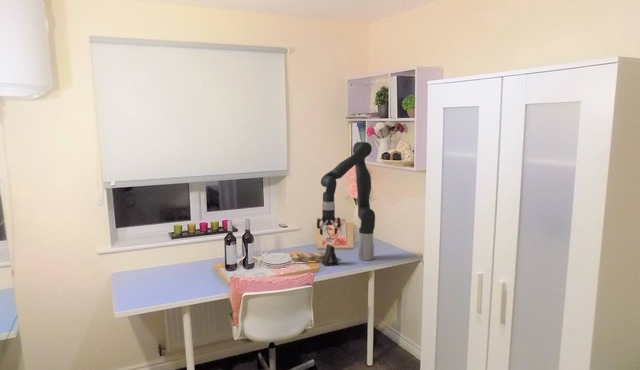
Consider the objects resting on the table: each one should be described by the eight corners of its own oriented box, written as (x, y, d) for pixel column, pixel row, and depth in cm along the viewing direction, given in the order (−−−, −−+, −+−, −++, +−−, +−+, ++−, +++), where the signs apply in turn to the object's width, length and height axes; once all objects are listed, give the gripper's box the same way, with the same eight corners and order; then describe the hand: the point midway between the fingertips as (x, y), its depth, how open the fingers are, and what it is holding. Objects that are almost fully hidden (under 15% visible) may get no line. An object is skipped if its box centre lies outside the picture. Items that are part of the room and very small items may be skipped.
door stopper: (335, 262, 280) (335, 243, 279) (338, 265, 275) (339, 245, 273) (321, 263, 277) (321, 244, 276) (325, 266, 271) (325, 247, 270)
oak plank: (331, 257, 290) (331, 251, 290) (335, 261, 282) (335, 254, 282) (289, 260, 282) (289, 254, 282) (291, 264, 275) (291, 257, 274)
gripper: (338, 207, 277) (338, 232, 279) (315, 208, 274) (315, 233, 276) (341, 209, 270) (341, 235, 272) (318, 210, 267) (318, 236, 269)
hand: (328, 234), depth 274 cm, fingers open, 8 cm apart
